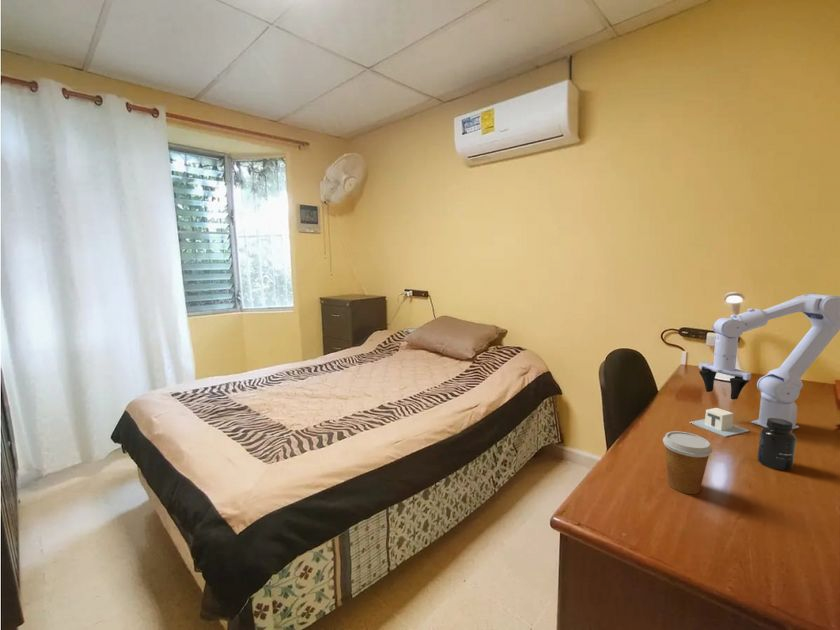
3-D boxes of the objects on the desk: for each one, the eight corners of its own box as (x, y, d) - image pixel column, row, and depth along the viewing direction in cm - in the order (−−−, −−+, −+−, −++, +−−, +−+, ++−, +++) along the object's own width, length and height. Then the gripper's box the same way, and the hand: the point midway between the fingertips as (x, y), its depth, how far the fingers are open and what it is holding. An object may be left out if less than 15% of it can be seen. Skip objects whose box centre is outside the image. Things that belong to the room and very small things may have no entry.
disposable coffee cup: (710, 503, 83) (715, 453, 82) (660, 490, 88) (663, 442, 87) (705, 482, 91) (710, 435, 90) (659, 471, 96) (662, 427, 95)
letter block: (715, 422, 124) (716, 407, 123) (731, 428, 119) (733, 413, 119) (704, 424, 123) (705, 409, 122) (720, 430, 118) (722, 415, 117)
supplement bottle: (785, 474, 94) (791, 428, 92) (752, 461, 100) (756, 419, 98) (797, 467, 97) (802, 423, 96) (764, 455, 103) (768, 413, 102)
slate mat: (712, 418, 128) (712, 417, 128) (749, 431, 118) (749, 430, 118) (689, 422, 125) (689, 422, 125) (725, 437, 114) (725, 436, 114)
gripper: (693, 351, 127) (690, 389, 129) (741, 361, 114) (737, 404, 115) (708, 349, 129) (705, 387, 131) (757, 359, 116) (752, 401, 118)
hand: (721, 395), depth 123 cm, fingers open, 7 cm apart
